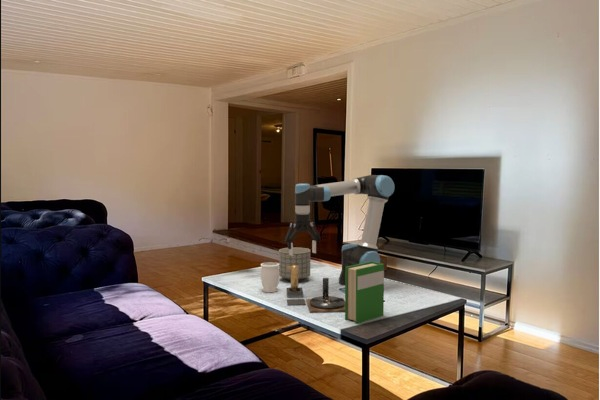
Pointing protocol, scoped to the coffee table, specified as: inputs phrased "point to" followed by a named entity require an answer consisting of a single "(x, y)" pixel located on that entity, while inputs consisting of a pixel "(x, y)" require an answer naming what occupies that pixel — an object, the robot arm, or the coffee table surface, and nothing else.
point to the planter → (294, 262)
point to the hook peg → (294, 277)
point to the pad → (296, 302)
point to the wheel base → (319, 310)
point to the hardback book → (364, 291)
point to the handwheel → (327, 299)
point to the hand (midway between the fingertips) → (302, 254)
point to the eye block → (294, 293)
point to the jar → (270, 276)
